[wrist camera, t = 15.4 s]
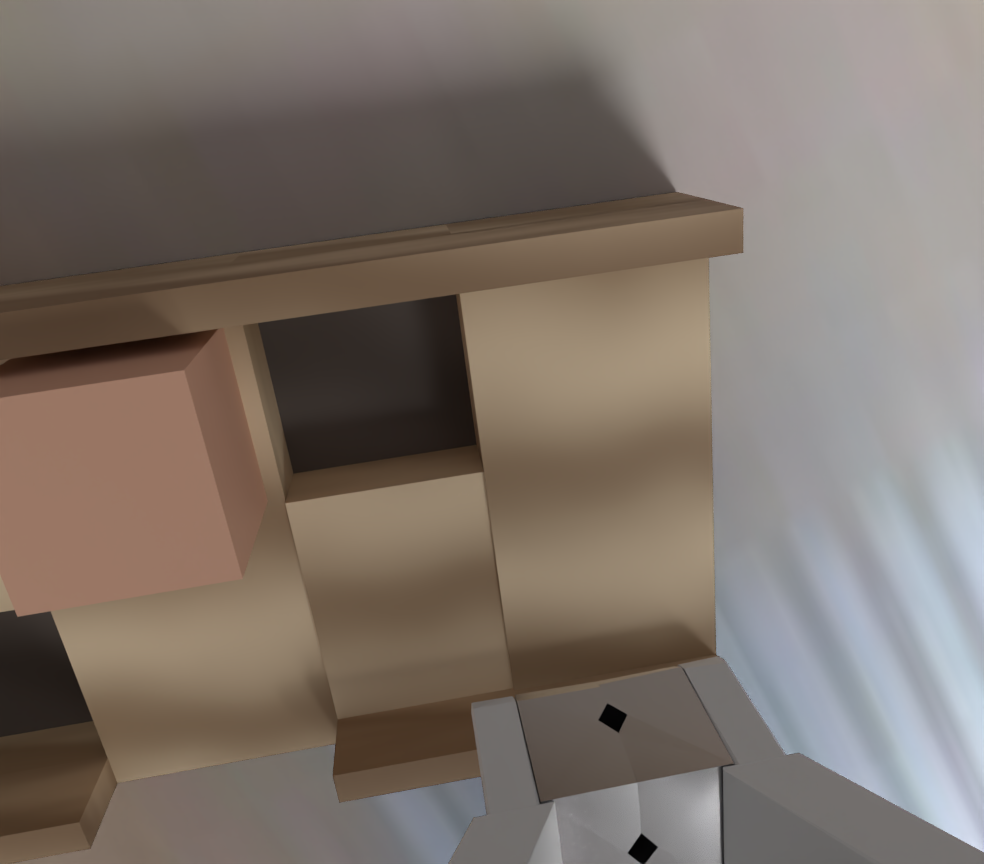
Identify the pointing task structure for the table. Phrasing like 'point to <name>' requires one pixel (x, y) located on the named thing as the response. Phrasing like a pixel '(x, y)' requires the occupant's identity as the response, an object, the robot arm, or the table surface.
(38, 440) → the block
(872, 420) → the table surface
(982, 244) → the table surface
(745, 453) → the table surface
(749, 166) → the table surface
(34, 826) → the trap box
